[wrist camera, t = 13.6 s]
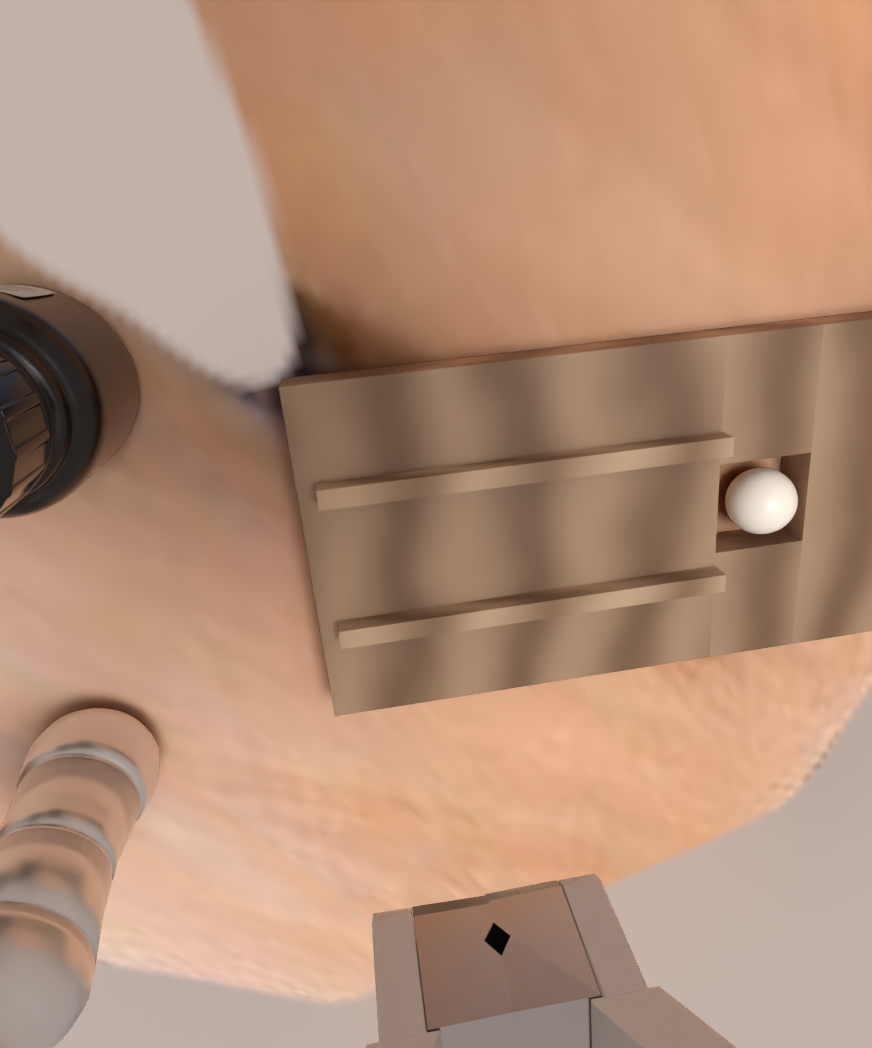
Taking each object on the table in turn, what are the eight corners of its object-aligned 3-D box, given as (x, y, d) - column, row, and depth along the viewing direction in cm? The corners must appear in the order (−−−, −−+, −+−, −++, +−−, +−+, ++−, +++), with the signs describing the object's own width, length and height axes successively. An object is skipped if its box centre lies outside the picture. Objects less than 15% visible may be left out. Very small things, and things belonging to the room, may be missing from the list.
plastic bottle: (56, 679, 39) (-193, 1065, 20) (182, 708, 41) (58, 1089, 22) (32, 773, 41) (-216, 1206, 22) (154, 797, 42) (17, 1219, 24)
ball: (808, 479, 36) (793, 458, 39) (731, 480, 37) (723, 459, 40) (800, 545, 38) (787, 519, 41) (727, 544, 38) (719, 519, 42)
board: (334, 690, 42) (335, 729, 38) (281, 378, 35) (276, 391, 32) (851, 610, 45) (894, 639, 41) (891, 308, 38) (947, 314, 35)
